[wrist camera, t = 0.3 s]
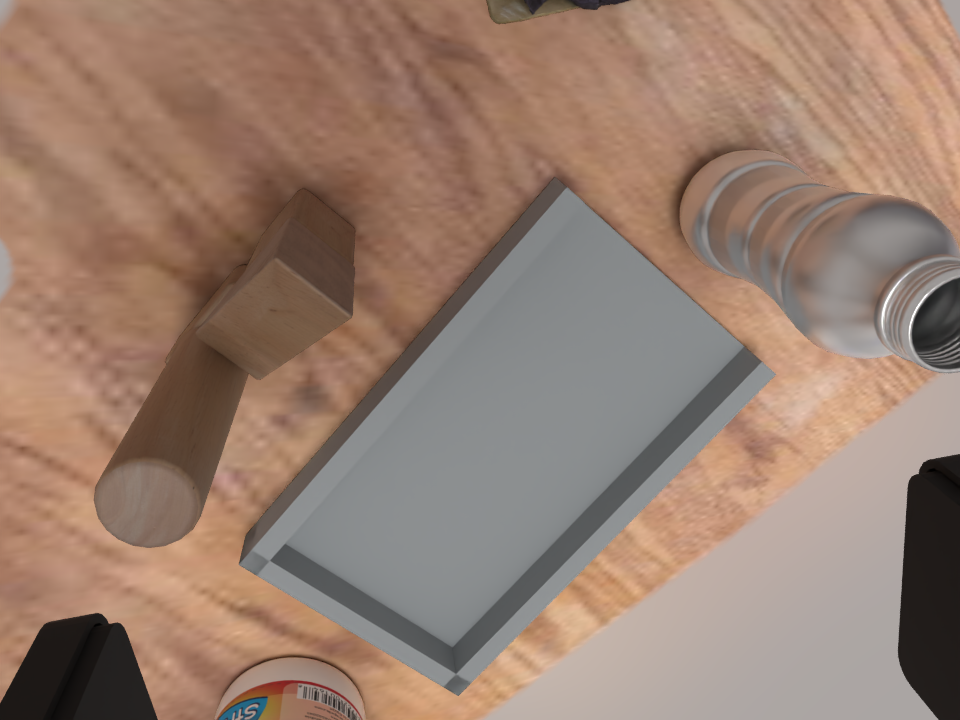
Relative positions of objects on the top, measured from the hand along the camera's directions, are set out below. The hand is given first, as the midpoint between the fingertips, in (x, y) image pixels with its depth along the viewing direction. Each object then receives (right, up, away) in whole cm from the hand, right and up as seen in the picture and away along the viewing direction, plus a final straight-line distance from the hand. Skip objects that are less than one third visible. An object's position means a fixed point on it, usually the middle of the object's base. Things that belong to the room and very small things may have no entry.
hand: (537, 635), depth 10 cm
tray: (0, -2, +40) cm, 40 cm away
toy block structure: (-12, +7, +35) cm, 38 cm away
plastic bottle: (+13, +12, +37) cm, 41 cm away
